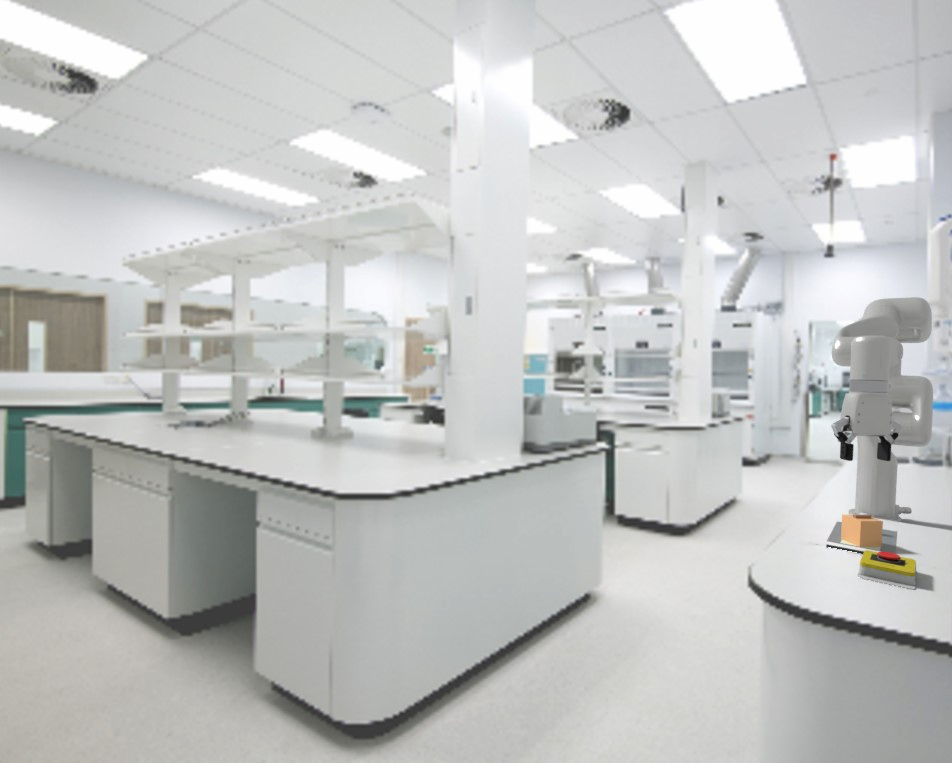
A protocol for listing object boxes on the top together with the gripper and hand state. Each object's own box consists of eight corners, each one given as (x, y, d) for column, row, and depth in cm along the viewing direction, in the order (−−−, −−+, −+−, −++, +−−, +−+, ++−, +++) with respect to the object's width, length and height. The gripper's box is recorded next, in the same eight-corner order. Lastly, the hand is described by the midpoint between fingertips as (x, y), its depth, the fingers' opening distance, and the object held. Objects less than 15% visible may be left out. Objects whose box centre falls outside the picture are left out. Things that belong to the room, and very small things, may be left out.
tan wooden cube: (862, 539, 133) (863, 511, 133) (881, 546, 127) (883, 518, 127) (840, 539, 132) (842, 511, 132) (859, 546, 127) (861, 518, 127)
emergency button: (917, 552, 117) (916, 570, 105) (916, 572, 117) (915, 593, 105) (864, 542, 123) (857, 558, 111) (863, 562, 123) (856, 580, 111)
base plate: (836, 526, 150) (837, 505, 149) (896, 537, 141) (897, 514, 141) (826, 547, 131) (827, 522, 131) (894, 560, 123) (896, 534, 123)
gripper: (888, 388, 134) (884, 457, 134) (823, 386, 132) (819, 457, 132) (916, 389, 126) (912, 463, 127) (847, 388, 124) (843, 462, 125)
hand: (865, 460), depth 130 cm, fingers open, 9 cm apart
